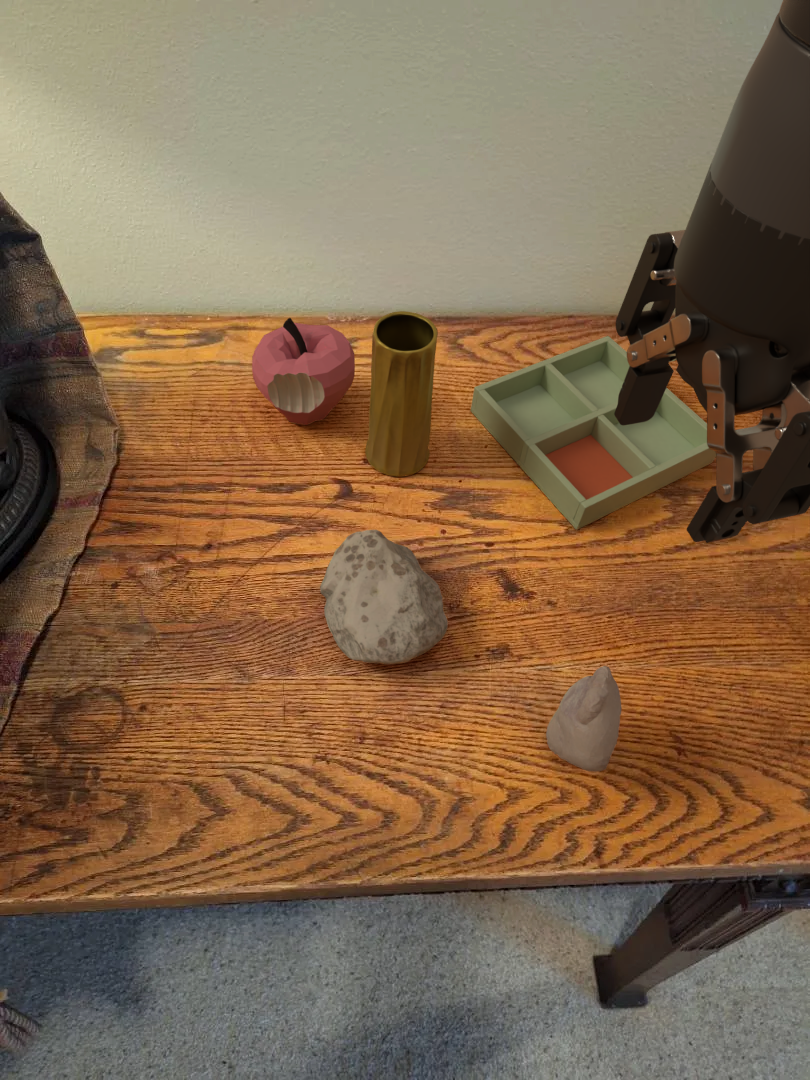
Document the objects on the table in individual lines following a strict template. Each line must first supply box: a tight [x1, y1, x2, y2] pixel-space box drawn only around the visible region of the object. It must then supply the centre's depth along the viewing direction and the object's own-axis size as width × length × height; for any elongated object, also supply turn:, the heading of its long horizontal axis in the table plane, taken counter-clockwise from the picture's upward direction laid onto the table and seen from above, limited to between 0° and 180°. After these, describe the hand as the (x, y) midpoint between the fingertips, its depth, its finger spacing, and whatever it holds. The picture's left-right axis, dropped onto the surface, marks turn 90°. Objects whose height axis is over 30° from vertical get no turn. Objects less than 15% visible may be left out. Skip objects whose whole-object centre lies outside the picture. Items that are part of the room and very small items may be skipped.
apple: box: [251, 317, 356, 426], centre depth 68 cm, size 10×9×10 cm
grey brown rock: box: [545, 665, 623, 773], centre depth 49 cm, size 6×4×10 cm, turn 0°
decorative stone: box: [319, 529, 449, 665], centre depth 57 cm, size 12×11×5 cm
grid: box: [470, 335, 716, 531], centre depth 71 cm, size 17×17×3 cm
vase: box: [364, 310, 438, 478], centre depth 63 cm, size 6×6×14 cm
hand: (666, 473), depth 40 cm, fingers open, 8 cm apart
